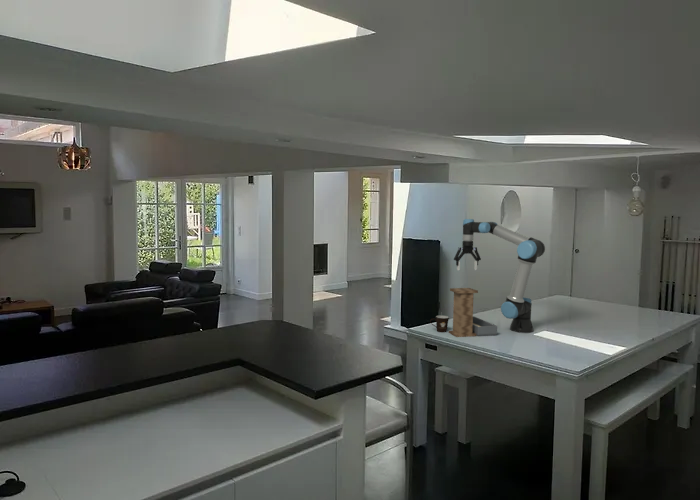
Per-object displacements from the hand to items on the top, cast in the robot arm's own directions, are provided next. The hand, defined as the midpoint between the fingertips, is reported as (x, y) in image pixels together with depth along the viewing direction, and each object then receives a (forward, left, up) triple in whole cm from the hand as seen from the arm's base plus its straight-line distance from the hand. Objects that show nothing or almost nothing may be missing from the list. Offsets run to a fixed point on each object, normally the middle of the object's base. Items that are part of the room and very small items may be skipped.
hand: (467, 270), depth 383 cm
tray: (+3, +21, -39) cm, 44 cm away
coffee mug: (+29, +19, -39) cm, 52 cm away
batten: (+5, +21, -36) cm, 42 cm away
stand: (+18, +31, -39) cm, 53 cm away
